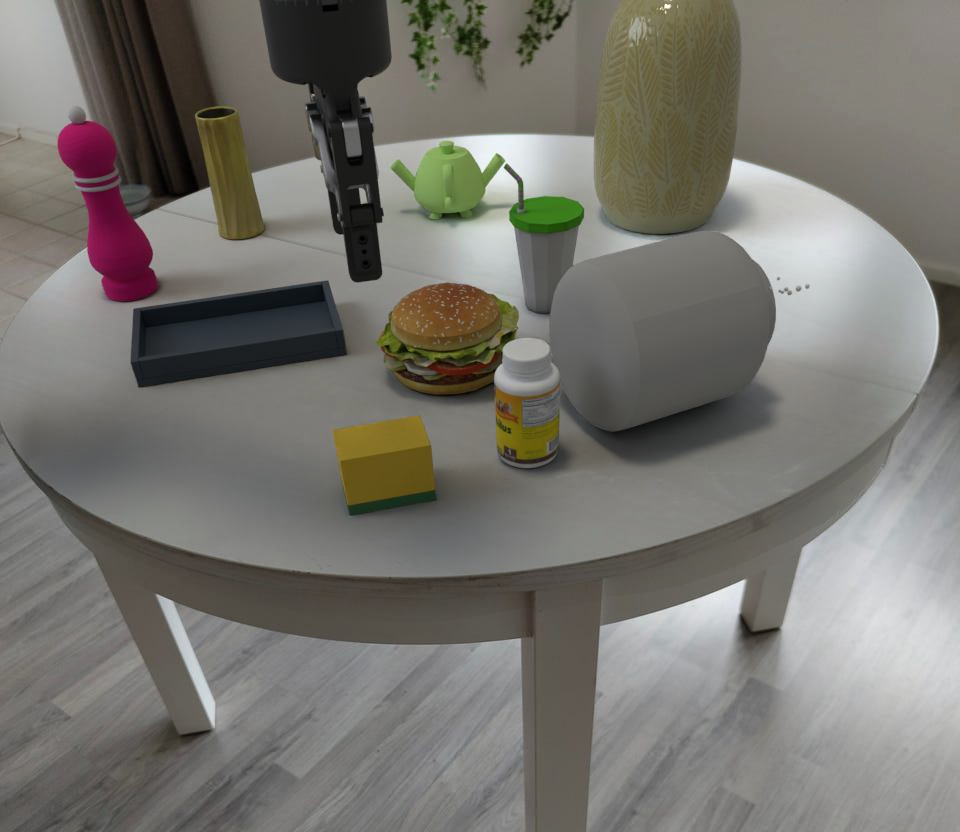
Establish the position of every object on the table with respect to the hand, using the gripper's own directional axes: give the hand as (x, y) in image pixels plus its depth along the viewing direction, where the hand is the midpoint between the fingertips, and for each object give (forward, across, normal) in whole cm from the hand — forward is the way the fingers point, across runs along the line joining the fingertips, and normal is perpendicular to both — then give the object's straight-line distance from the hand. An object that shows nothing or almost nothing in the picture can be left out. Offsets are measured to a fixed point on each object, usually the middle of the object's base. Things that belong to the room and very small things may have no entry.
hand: (357, 254), depth 67 cm
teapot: (+21, -62, +19) cm, 68 cm away
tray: (+21, -32, -11) cm, 40 cm away
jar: (+21, -9, +30) cm, 38 cm away
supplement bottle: (+21, -2, +13) cm, 25 cm away
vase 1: (+21, -64, -9) cm, 68 cm away
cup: (+21, -30, +23) cm, 43 cm away
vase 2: (+21, -50, +44) cm, 70 cm away
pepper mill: (+21, -50, -23) cm, 59 cm away
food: (+21, -19, +10) cm, 30 cm away
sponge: (+21, 0, 0) cm, 21 cm away
